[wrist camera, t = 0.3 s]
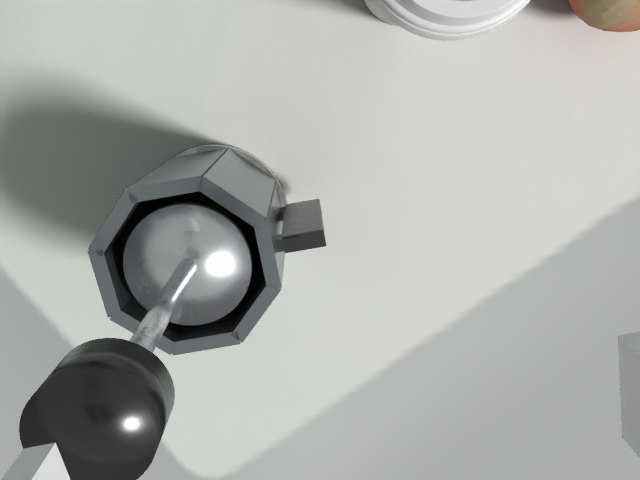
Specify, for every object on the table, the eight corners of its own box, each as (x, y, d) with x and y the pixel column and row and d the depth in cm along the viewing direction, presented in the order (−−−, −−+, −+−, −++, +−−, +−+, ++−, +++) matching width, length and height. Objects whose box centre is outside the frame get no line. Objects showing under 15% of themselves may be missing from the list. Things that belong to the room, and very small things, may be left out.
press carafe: (129, 158, 41) (61, 192, 29) (306, 126, 41) (308, 148, 29) (165, 292, 44) (117, 371, 32) (330, 264, 44) (341, 333, 32)
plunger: (112, 213, 31) (-70, 351, 16) (238, 191, 31) (176, 308, 16) (145, 328, 33) (11, 548, 18) (263, 308, 33) (230, 512, 18)
